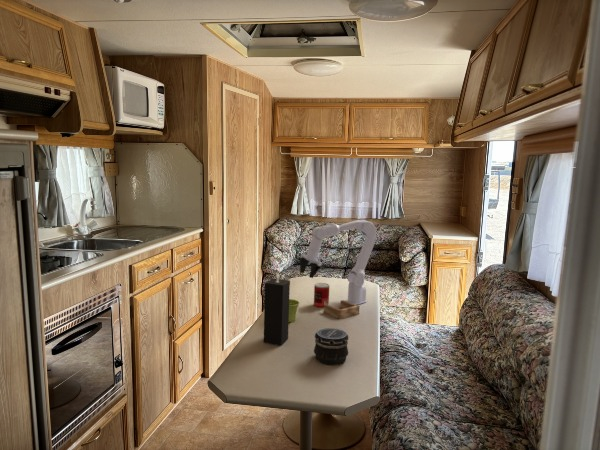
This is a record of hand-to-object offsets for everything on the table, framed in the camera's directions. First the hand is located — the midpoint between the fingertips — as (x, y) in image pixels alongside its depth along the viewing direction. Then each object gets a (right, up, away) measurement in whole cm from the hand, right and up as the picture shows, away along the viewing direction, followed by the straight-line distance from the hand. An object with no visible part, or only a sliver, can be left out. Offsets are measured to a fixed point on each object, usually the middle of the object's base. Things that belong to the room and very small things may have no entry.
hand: (306, 275), depth 224 cm
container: (+8, -24, -62) cm, 67 cm away
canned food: (+8, -16, +1) cm, 18 cm away
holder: (+16, -17, -10) cm, 26 cm away
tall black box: (-13, -22, -47) cm, 53 cm away
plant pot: (-9, -19, -23) cm, 30 cm away
